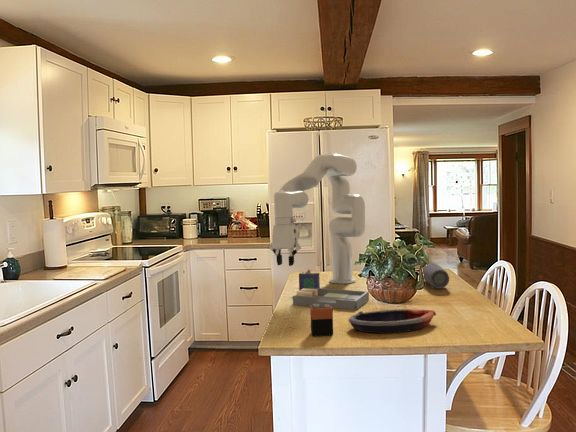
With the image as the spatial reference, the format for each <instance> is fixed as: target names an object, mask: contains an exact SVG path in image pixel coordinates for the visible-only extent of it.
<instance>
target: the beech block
mask: <svg viewBox="0 0 576 432" xmlns="http://www.w3.org/2000/svg"><path fill="white" fill-rule="evenodd" d="M296 296H306V297H318V290H317V289H304V288H303V289H301V290H297V291H296Z"/></svg>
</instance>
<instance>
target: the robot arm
mask: <svg viewBox="0 0 576 432" xmlns="http://www.w3.org/2000/svg"><path fill="white" fill-rule="evenodd" d="M357 166H358V165H357V163H356V160H355V159H354V158H352V157H351V156H347V155H343V154H338V153H330V154H329V153H328V154H327V153H326V154H318V155H316V156H315V157H314V158H313V159H312V160H311V162H309V164H308V165H307V167H306V168H305V169H304V171H303V172H301V173H300V174H298V175H296V176H295V177H293V178H291V179H290V180H288V181H286V182H285V183H284V184H283V185H282V186H281V187H280V189H279V190H278V191H277V192H275V193H274V195H273V205H274V207H273V208H274V224H273V228H272V237H271V239H272V240H271V243H270V244H269V246H268V248H269V249H270V250H271V251H272V252H273V253H274V255H275V256H276V264H277V266H281V265H282V264H283V255H282V250H288V255H289V256H288V266H289V267H291V266H293V265H294V264H295V256H296V254H297V253H298V252H299V251H300V250H301V249H302V247H301V245H300V244H299V239H298V232H297V227H296V224H294V223H297V219H296V218H294V211H293V210H294V209H303V208H305V207H306V206H307V205H308V203H309V195H308V194H307V193H306V192H305V191H307V190H311V189H313V188H316V187H318V185H319V184H320V182H321V181H322V179H323V178H324V177H325V176H326V177H327V178H328V180H329V181H330V184H331V201H332V203H331V204H332V211H333V212H334V213H335V214H338V215H351V217H350V216H335V217H334V218H332V219H330V221H329V224H328V228H329V233H330V234H329V235H330V240H331V261H332V262H331V265H332V269H331V270H332V277H331V278H329V282H330V283H332V284H338V285H345V284H346V285H347V284H352V283H355V282H356V278H355V277H353V257H352V255H353V254H352V249H353V248H352V242H351V240H350V239H349V238H361V237H362V236H363V235H364V233H365V230H366V204H365V203H366V202H365V200H364V198H363V197H362V195H360V194H355V193H354V194H353V193H352V194H351V191H350V190H351V187H350V182H349V180H348V178H347V177H350V176H353V175H354V174H355V173H357V172H356V171H357Z"/></svg>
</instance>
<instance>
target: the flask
mask: <svg viewBox="0 0 576 432" xmlns="http://www.w3.org/2000/svg"><path fill="white" fill-rule="evenodd" d="M308 287H311V288H321V286H320V272H311V269H307V271H302V272H299V273H298V289H299V290H301V289H303V288H304V289H308ZM299 290H298V291H299Z"/></svg>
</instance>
